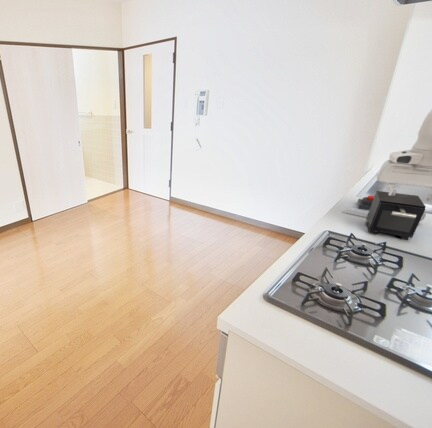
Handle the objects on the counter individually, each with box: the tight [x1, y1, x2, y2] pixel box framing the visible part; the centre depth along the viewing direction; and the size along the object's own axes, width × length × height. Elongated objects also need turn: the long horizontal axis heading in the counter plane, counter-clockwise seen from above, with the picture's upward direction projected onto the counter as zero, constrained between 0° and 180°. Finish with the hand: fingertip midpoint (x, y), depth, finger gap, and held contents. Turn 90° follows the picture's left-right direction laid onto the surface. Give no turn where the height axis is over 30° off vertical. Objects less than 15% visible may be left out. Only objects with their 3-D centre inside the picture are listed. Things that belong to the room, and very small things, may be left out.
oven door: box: [370, 202, 426, 239], centre depth 101 cm, size 7×12×12 cm, turn 54°
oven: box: [365, 190, 427, 241], centre depth 108 cm, size 12×12×14 cm
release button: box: [367, 195, 375, 201], centre depth 129 cm, size 3×3×2 cm
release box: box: [356, 196, 373, 211], centre depth 130 cm, size 8×8×4 cm
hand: (410, 197), depth 94 cm, fingers open, 8 cm apart
